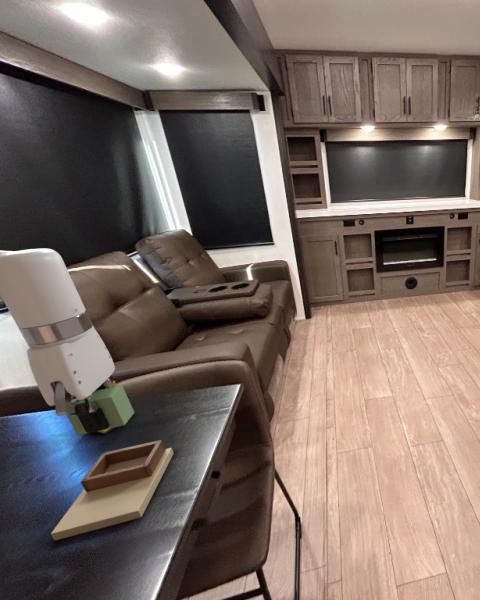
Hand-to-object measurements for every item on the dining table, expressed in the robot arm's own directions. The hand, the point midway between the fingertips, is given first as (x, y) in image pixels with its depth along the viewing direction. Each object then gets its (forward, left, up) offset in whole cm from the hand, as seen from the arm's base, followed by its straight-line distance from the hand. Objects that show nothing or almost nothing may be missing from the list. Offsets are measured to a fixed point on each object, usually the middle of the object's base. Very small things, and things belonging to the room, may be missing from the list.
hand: (105, 420), depth 56 cm
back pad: (0, 0, -1) cm, 1 cm away
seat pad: (0, -3, -14) cm, 14 cm away
